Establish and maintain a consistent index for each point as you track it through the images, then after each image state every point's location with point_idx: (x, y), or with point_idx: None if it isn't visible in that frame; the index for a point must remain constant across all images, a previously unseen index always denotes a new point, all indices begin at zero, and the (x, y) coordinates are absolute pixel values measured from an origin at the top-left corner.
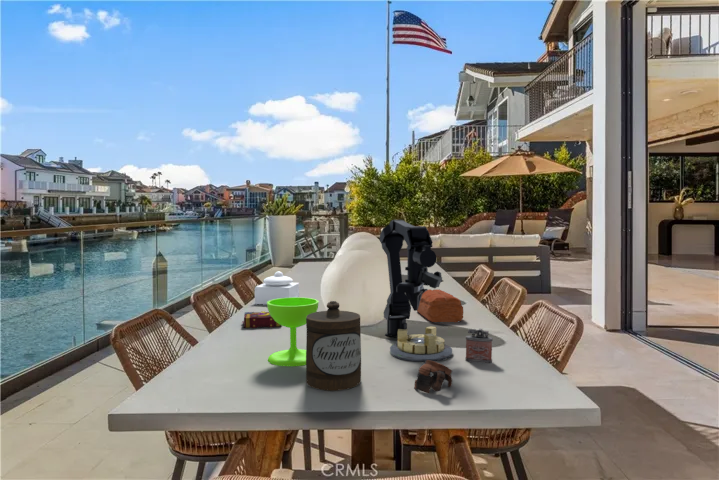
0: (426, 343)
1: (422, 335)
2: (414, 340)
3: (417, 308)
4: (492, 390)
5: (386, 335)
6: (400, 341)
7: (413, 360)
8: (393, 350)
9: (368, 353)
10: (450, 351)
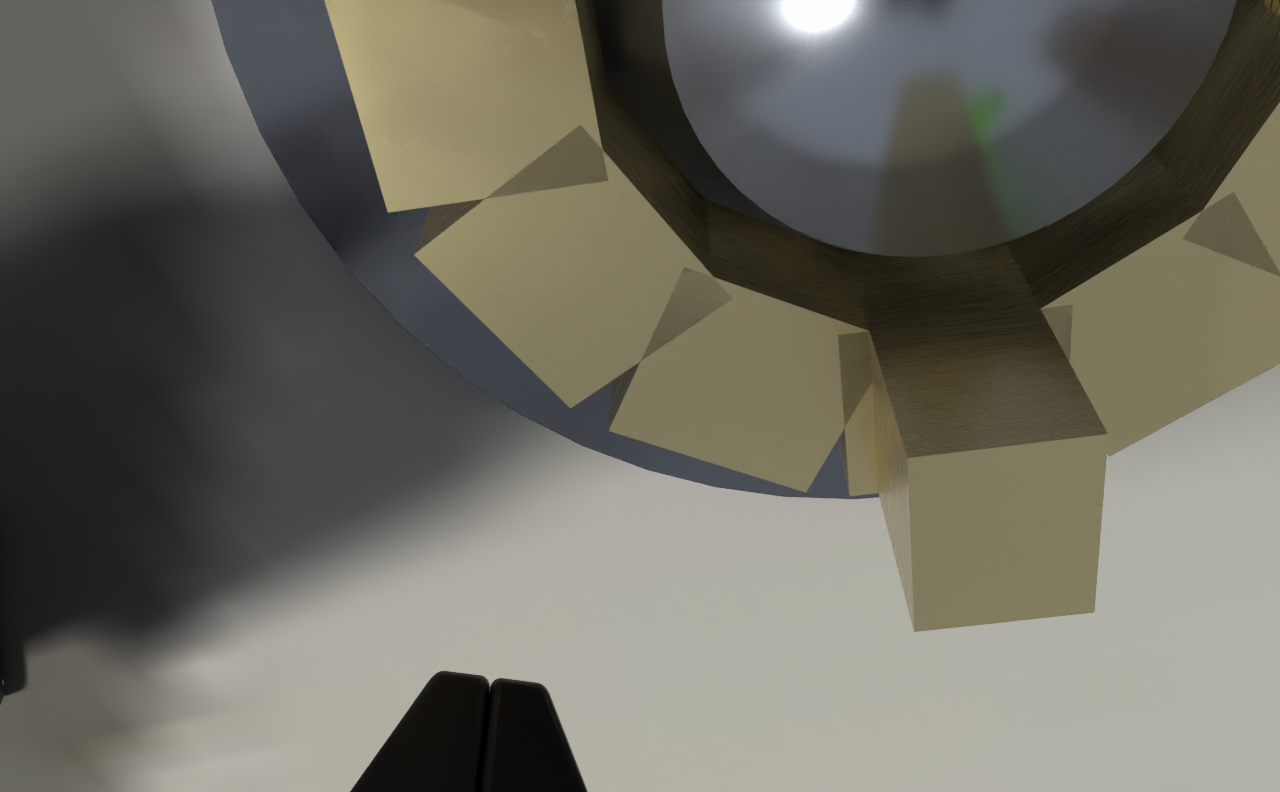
0: None
1: (462, 61)
2: (1009, 150)
3: (475, 734)
4: None
5: (1, 688)
6: (1165, 401)
7: None
8: None
9: (1061, 664)
10: None
